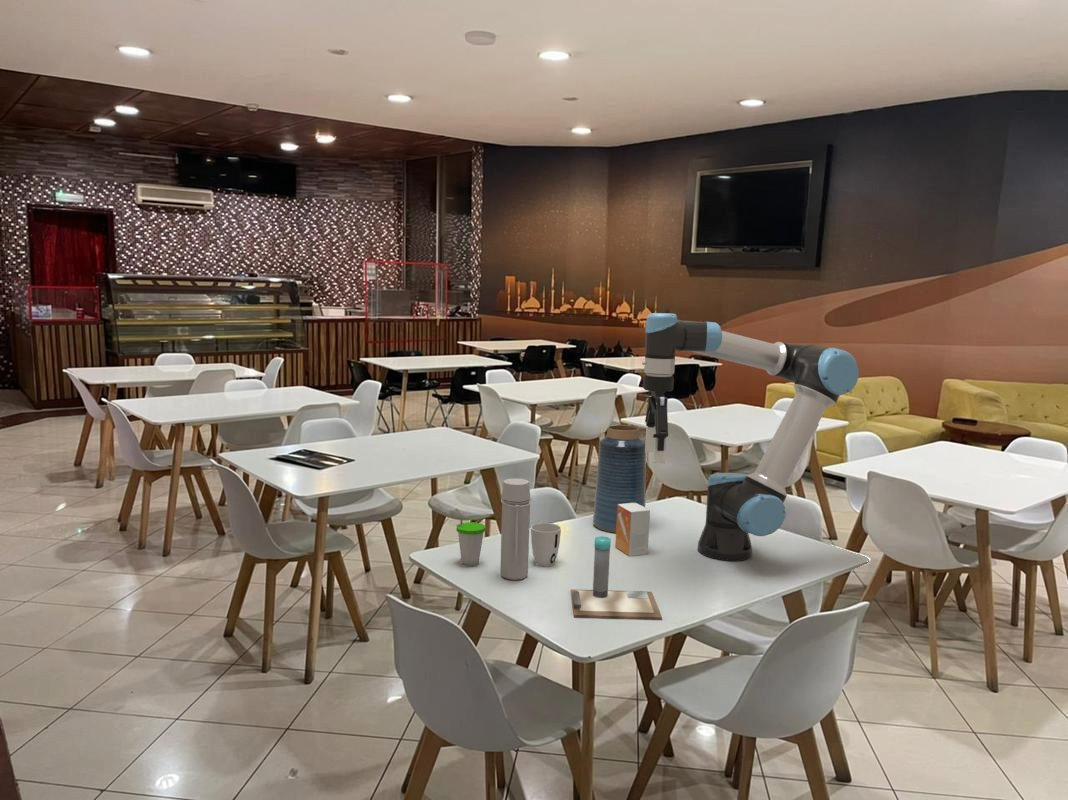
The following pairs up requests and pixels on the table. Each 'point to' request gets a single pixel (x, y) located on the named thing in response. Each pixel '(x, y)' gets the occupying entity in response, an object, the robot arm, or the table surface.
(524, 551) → the water bottle
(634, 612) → the tan flat rectangular tray
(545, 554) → the cup
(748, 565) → the table surface
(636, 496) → the vase
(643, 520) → the small box
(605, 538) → the marker
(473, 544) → the cup
